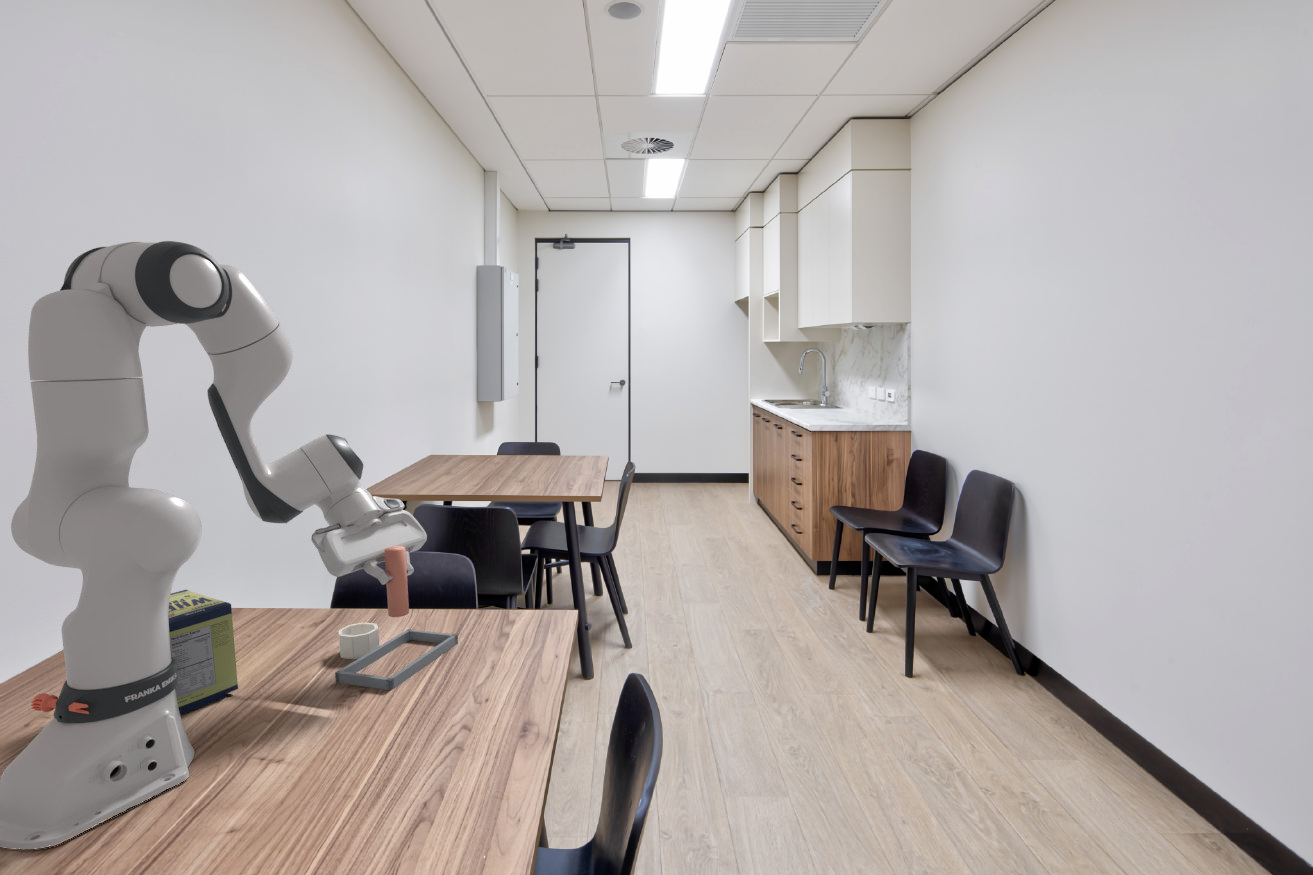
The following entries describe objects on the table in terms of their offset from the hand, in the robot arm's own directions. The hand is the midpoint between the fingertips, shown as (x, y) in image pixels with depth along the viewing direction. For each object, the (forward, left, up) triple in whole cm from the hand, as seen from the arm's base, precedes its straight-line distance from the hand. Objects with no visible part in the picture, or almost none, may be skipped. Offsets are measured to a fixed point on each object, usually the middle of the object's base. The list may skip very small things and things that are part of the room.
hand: (399, 577), depth 124 cm
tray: (0, +1, -16) cm, 16 cm away
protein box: (-19, +29, -17) cm, 39 cm away
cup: (+2, +11, -16) cm, 20 cm away
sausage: (0, +1, -7) cm, 7 cm away
